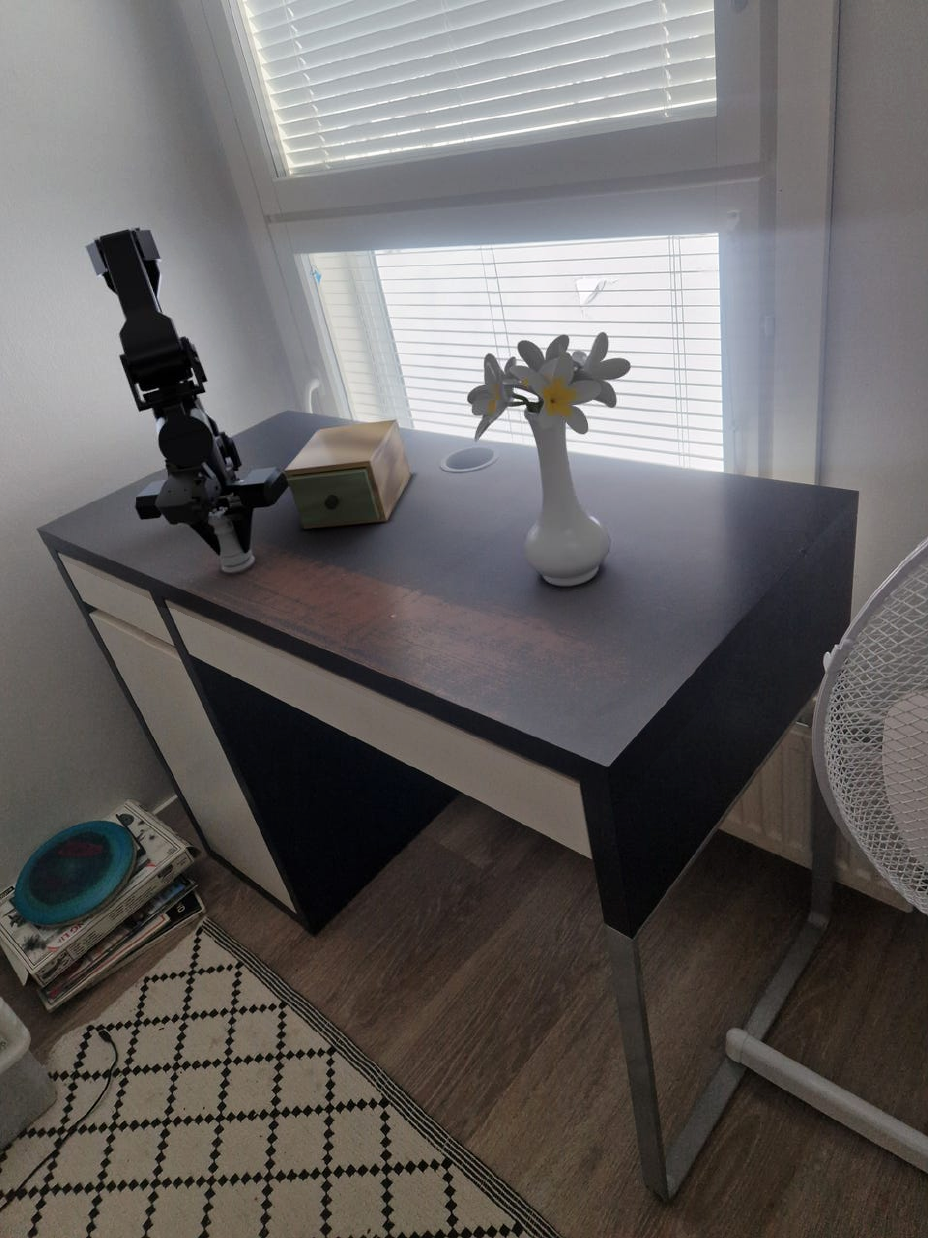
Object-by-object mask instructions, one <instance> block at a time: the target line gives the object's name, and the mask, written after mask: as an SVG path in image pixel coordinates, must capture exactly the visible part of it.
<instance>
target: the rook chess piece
mask: <svg viewBox="0 0 928 1238" xmlns="http://www.w3.org/2000/svg"><path fill="white" fill-rule="evenodd" d="M219 509H220V511H218V512H217V510H216V509H214V510H212V511H213V514H212V512H209V515H208V516H209V520H208V523H209V524H210V525H212V526H213V527H214V528H215V530H214V533H215V534H217V537H218V539H219V543H220V548H221V552H220V555H219V564H220V565H221V570H222V571H223V572H225V573H227V574H232V575H234V574H239V573H243V572H245V571H247V570H249V569H250V568H251V567H252V566H253V565H254V563H255V560H256V557H255V556H254V555H253V551H252V550H251V548H250V550H249V551H248V553H244V552H243V550H242V548H241V546H240V544H239V541H238V539H237V536H236V533H235V530H234V528H233V525H232V522H231V520H230V519H228V518H227V517H225V516H224V515H223V514H224V512H225V511H226V510H227V509H228V508H227V507H225V508H223V507H220V508H219ZM224 509H225V510H224Z"/></svg>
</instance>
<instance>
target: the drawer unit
mask: <svg viewBox="0 0 928 1238" xmlns="http://www.w3.org/2000/svg"><path fill="white" fill-rule="evenodd" d="M402 438H403V437H402V433H401V430H400V426H399V422H398V419H389V420H388V419H387V420H382V421H381V420H380V421H375V422H373V421H371V422H365V423H364V422H363V423H357V424H350V425H343V426H335V427H327V428H319V429H317V431H316V432H315V433H314V434H313V435H312V436H311V437H310V439H309V440H308V441H307V442H306V444H305V445H304V446H303V448H301V450H300V451H299V453H297V455H296V456H295V457H294V458H293V460H291V462H290V463H289V464H288V466H287V467H286V468H285V469H284V473H285V475H286V478H287V481H288V479H289V478H290V477H291V476H299V475H300V474H306V473H315V472H324V471H333V470H342V469H350V468H359V467H366V468H367V469H368V472H369V476H370V480H371V483H372V487H373V490H374V494H375V497H376V501H377V505H378V508H379V512H380V515H381V516H380V518H379V520H372V521H361V522H351V523H340V524H330V525H319V526H309V527H303V530H308V529H318V528H329V527H338V526H339V527H340V526H350V525H360V524H368V523H369V524H371V523H382V522H383V523H384V522H388V520H389V517H390V516H391V515H392V512H393V510H394V509H395V506H396V505H397V503H398V501H399V499H400V497H401V496H402V494H403V492H404V490H405V488H406V486H407V484H408V482H409V480H410V478H411V477H412V475H411V474H412V473H411V470H410V466H409V462H408V458H407V453H406V450H405V445H404V441H403V439H402Z"/></svg>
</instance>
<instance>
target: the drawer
mask: <svg viewBox="0 0 928 1238" xmlns="http://www.w3.org/2000/svg"><path fill="white" fill-rule="evenodd" d="M287 481H288V484H289V486H288V487H289V490H290V493H291V495H292V499H293V501H294V504H295V507H296V510H297V513H298V516H299V519H300V522H301V525H302V528H304V527H309V526H319V525H330V524H340V523H351V522H361V521H372V520H379V518H380V516H381V515H380V512H379V508H378V505H377V501H376V497H375V494H374V490H373V487H372V483H371V480H370V476H369V472H368V469H367V468H366V467H359V468H350V469H342V470H333V471H324V472H315V473H306V474H300V475H299V476H291V477H290V478H289V479H288V480H287Z"/></svg>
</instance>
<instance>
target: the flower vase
mask: <svg viewBox="0 0 928 1238" xmlns="http://www.w3.org/2000/svg"><path fill="white" fill-rule="evenodd" d="M609 342H610V341H609V337H608V334H607V333H606V332H604V331H601V332H599V333H598V334H597V336H596V337H595V339H594V341H593V342H592V346H591V349H590V351H589V354H588V355H587V353H586V352H584V351H582V350H575V351H573V352H572V354H571V353H569V352H568V349H569V346H570V337H569V335H567V334H559V336H557V337H555V338H554V339H553V340H552V341H551V342H550V343H549V345H548V347H547V348H546V351H545V356H544V353H543V351H542V350H541V348H540V347H539V346H538V345H536V344H535V343H534V342H533V341H530V340H527V339H524V340H523V339H521V340H520V341H519V342H517V352H518V354H519V356H520V358H521V359H522V361H524V363H525V364H526V365H521V364H520V365H519V364H518V363H517V362H518V360H517V357H516V356H511V357H510V358H509V359H508V360H507V361H506V363H505V364H504V368H503V369H502V367H501V365H500V363H499V361H498V359H497V358H496V356H495V355H494V354H493V353H491V352H488V353H487V354H485V356H484V359H483V371H484V372H483V373H484V374H483V380H484V384H480V385H478V386H476V387H474V388H472V389H471V390H470V391H469V392H468V394H467V396H466V401H467V403H468V404H469V405H471V409H470V410H471V414H472V415H473V416H478V417H481V416H482V417H481V420H480V422H479V423H478V425H477V427H476V429H475V432H474V433H475V434H474V437H473V438H474V439H473V440H474V442H475V443H477V442H478V441H479V439H480V438H482V436H483V434H485V432H486V431H487V430H488V428H489V427H490V426H491V425H492V424H493V423H494V422H495V421H496V420H498V418H500V416H502V415H503V413H504V412H505V410H507V408H514V407H521V406H525V408H524V410H523V417H524V419H525V420H526V421H527V422H528V424H529V426H530V429H531V433H532V435H533V438H534V442H535V446H536V451H537V456H538V464H539V471H540V479H541V492H542V498H541V499H542V500H541V502H542V503H541V507H540V511H539V516H538V518H537V520H536V521H535V522H534V523H533V525H532V526H531V527H530V529H529V531H528V532H527V534H526V536H525V539H524V543H523V555H524V558H525V559H524V560H525V561H526V563H527V564H528V565H529V566H530V567H531V568H532V569H533V570H534V571H535V572H536V573H538V574H541V576H542V578H543V579H544V580H545V582H547V583H549V584H550V585H553V586H557V587H573V586H577V585H581V584H583V583H584V584H585V583H586V582H588V581H591V580H592V578H594V577H595V576H596V575H597V573H598V572H599V567H600V565H601V564H602V563H603V562H604V561H605V559H606V558H607V556H608V554H609V553H610V549H611V537H610V535H609V532H608V530H607V528H606V526H605V525H604V524H603V522H602V521H600V520H599V518H597V517H596V516H594V515H593V514H591V513H590V512H589V511H587V510H586V509H585V508H584V506H583V504H582V503H581V502H580V500H579V498H578V495H577V492H576V488H575V484H574V480H573V476H572V470H571V464H570V459H569V453H568V446H567V426H568V427H569V428H570V429H571V430H573V431H574V432H575V433H577V434H578V435H586V434H587V433H588V432H589V422H588V418H587V417H586V415H585V413H584V412H583V411H582V410H581V408H580V407H578V405H579V406H580V405H584V404H586V403H589V402H592V401H596V402H598V403H602V404H603V405H605V406H606V407H608V408H610V409H613V408H615V407H616V406H617V403H618V401H617V400H618V399H617V393H616V391H615V389H614V387H613V386H612V385H611V383H610V382H609V381H611V380H616V379H617V380H618V379H620V378H622V377H625V375H627V374H628V373H629V372H630V370H631V369H632V366H631V362H630V360H628V359H626V358H623V357H613V358H608V359H606V356H607V355H608V351H609ZM517 364H518V365H517ZM515 389H517V390H521V391H524V392H526V393H530V394H532V395H534V396H536V397H537V399H538V400H537V401H529V399H528V398H527V397H526V396H524V395H523V394H518V393H516V392H515ZM516 400H517V401H516ZM518 400H519V401H518Z"/></svg>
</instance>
